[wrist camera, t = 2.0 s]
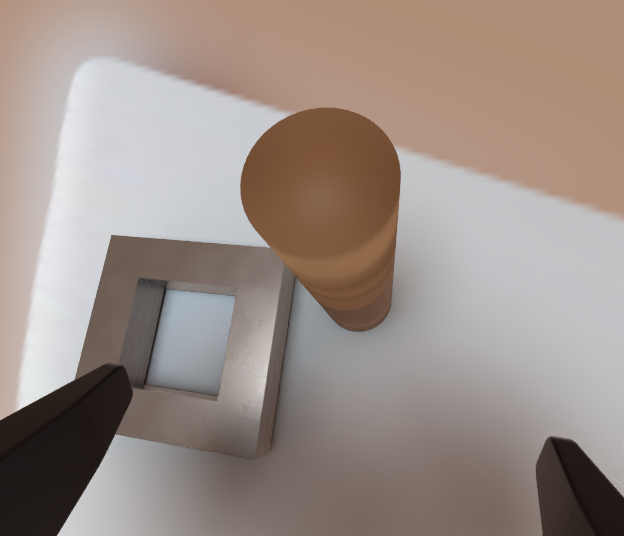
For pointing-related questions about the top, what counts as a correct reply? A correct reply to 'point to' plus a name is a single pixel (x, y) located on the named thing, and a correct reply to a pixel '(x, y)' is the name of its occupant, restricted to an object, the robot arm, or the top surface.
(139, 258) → the square hole frame
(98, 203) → the top surface
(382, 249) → the walnut pin
